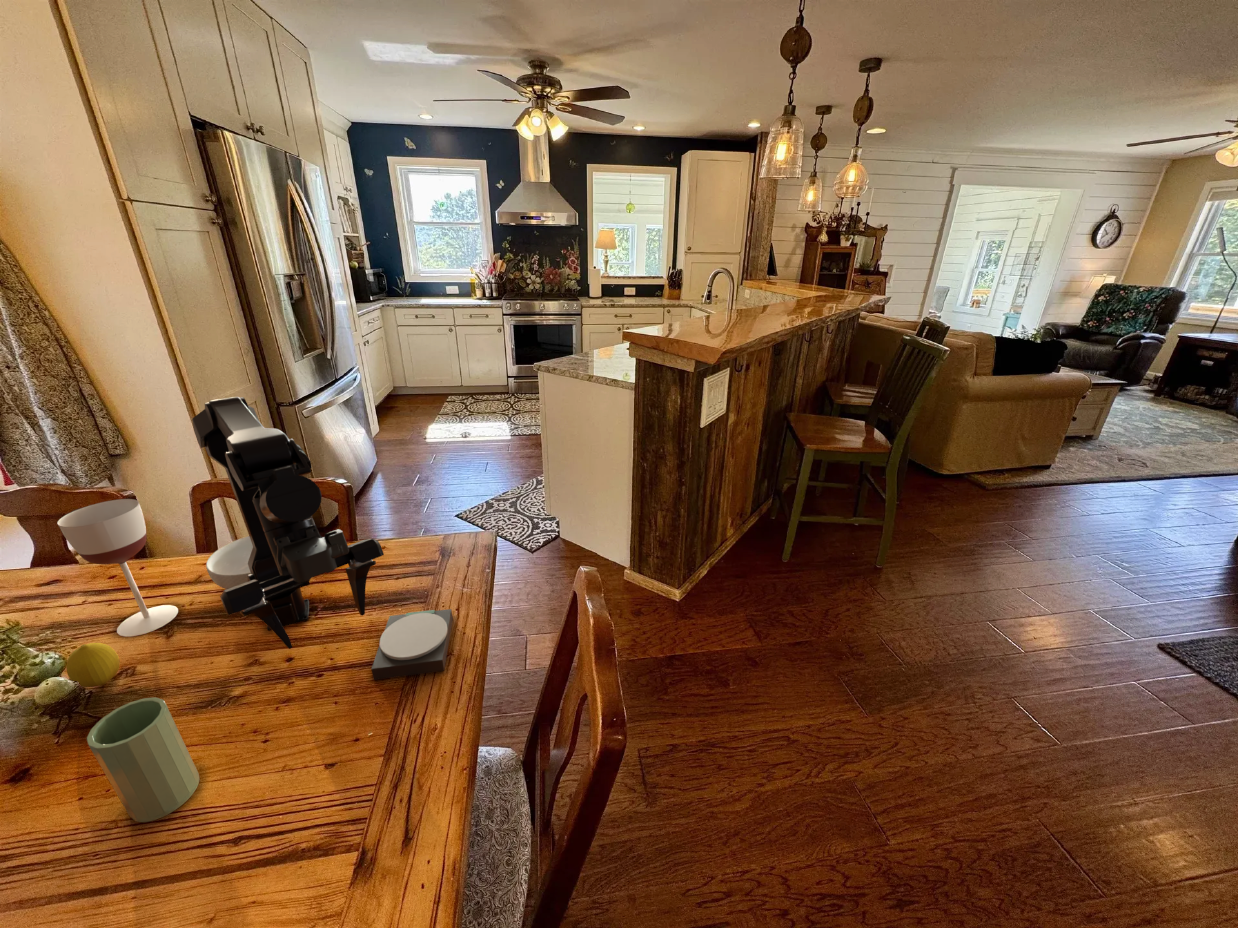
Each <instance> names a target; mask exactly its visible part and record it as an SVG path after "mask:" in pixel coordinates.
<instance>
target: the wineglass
mask: <svg viewBox="0 0 1238 928" xmlns="http://www.w3.org/2000/svg"><path fill="white" fill-rule="evenodd" d="M143 513H144V512H143V510H142V507H141V504H140V501H138V500H137V499H134V498H120V499H113V500H107V501H102V502H97V503H95V504H89V505H88V506H87V505H86V506H84V507H81V508H77V509H75V510H73V511H71V512H69V513H67V514H65V515H63V516H62V517H61V518H59V519H58V520H57V525H58V527H59V529H60V531H61V533H62V535H63V537H64V538H65V539H66V541H67V542H68V543H69V545H70V546H71V547H72V549H73V550H75V552H76V553H77V554H78V556H80V557H81V558H82V559H83V560H84V561H86V562H88V563H91V564H96V565H119V567H120V569H121V571H122V573H123V575H124V578H125V580H126V582H127V584H128V586H129V588H130V591H131V593H132V594H133V597H134V600H135V602H136V604H137V606H138V608H139V611H138V612H136V613H134V614H132V615H130V616H129V617H127V618H126V619H125V620H124V621H122V622H121V623H119V625H118V627H117V628H116V633H117V634H118V636H121V637H136V636H137V637H138V636H141V635H146V634H147V633H150V632H151V633H152V632H154V631H155V630H158V629H160V628H162V627H164V626H166V625H167V624H169V623H170V622H171V621H173V620H174V619H175V618H176V617H177V615H178V613H179V608H178V607H177V606H176V605H172V604H162V605H157V606H151V607H149V608H147V605H146V604H145V601H144V599H143V597H142V594H141V592H140V590H139V587H138V585H137V583H136V581H135V579H134V577H133V574H132V572H131V569H130V568H129V565H128V563H127V562H128V560H130V559H131V558H133V557H135V555H137V554H138V553H139V552H140V551H141V550H142V549H143V548H144V547H145V546H146V543H147V539H148V538H147V537H148V536H147V528H146V520H145V517H144V514H143Z"/></svg>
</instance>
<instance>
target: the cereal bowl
mask: <svg viewBox="0 0 1238 928" xmlns="http://www.w3.org/2000/svg"><path fill="white" fill-rule="evenodd" d="M252 549H253V545H252V542H251V539H250V537H249V535H248V536H244V537H241V538H238V539H235V540H233V541H231V542H229V543H227V544H225V545H223V546H221V547H220V548H218V549H217V550H215V551H214V552H213V553H212V554H211V555H210V556H208V559H207V561H206V563H205V567H206V571H207V573H208V576H209V578H210V579H211V581H212V582H213V583H214V584H215V585H216V586H218V587H220V588H222V589H224V590H226V589H229V588H232V587H235V586H238V585H240V584H243V583H246V582H248V578H247V575H249V574H251V572H250V569H249V566H248V561H249V558H250V555H251V552H252Z"/></svg>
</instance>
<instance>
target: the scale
mask: <svg viewBox="0 0 1238 928" xmlns="http://www.w3.org/2000/svg"><path fill="white" fill-rule="evenodd" d="M453 621H454V616H453V610H452V608H449V609H440V610H439V609H438V610H435V609H430V610H429V609H428V610H422V611H421V610H420V611H411V612H406V613H402V614H395V615H389V616H388V620H387V621H386V625H385V628H384V631H383V632H382V634H381V635H380V638H379V646H378V648H377V651H376V654H375V657H374V660H373V663H372V665H371V668H370V670H371V674H372V679H373V681H376V680H384V679H385V680H386V679H393V678H400V677H408V676H414V675H415V676H416V675H422V674H430V673H438V672H444V671H445V668H446V662H447V656H448V650H449V645H450V640H451V639H450V637H451V633H452V626H453Z"/></svg>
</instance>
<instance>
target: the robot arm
mask: <svg viewBox="0 0 1238 928" xmlns="http://www.w3.org/2000/svg"><path fill="white" fill-rule="evenodd" d="M192 428H193V432H194V435H195V438H196V441H197V443H198V445H199V448H201V449H203V448H205V451H206V454H207V456H208V457H209V458H211V459H212V460H213V461H215V462H216V463H217V464H219V465H220V466H221V467H223V469H224V470H225V472H226V475H227V478H228V481H229V483H230V486H231V490H232V492H233V494H234V498H235V500H236V503H237V506H238V508H239V510H240V514H241V518H242V519H243V522H244V525H245V529H246V531H247V534H248V536H249V537H250V539H251V542H252V545H253V549H252V552H251V555H250V558H249V561H248V566H249V569H250V572H251V574H249V575H247V578H248V582H246V583H243V584H240V585H238V586H235V587H232V588H229V589H224V590H223V591H222V592H221V594H220V595H219V598H220V602H221V604H222V606H223V609H224V611H225V613H226V615H228V616H230V615H234V614H237V613H239V614H240V615H241V616H242V617H247V616H250V615H254V616H255V617H257V618H258V619H259V620H260V621H261V622H263V623H264V624H265V625H266V629H267V631H269V632H270V631H272V632H273V634H275V635H276V636H277V638H278V639H279V640H280V641H281V642H282V643H283V644H284V646H286V647H287V649H288V650H291V649H292V648H293V644H292V641H291V637H290V636H289V634H288V633H287V631H286V629H285V627H288V626H292V625H295V624H300V623H303V622H306V621H308V620H309V618H310V616H309V615H310V599H308V598H306V599H304V595H303V592H302V589H301V588H304V587H307V586H310V583H311V579H312V578H314V577H317V576H320V575H322V574H325V573H326V574H328V573H331V572H334V571H335V570H336V569H338V568H341V567H343V566H346V565H348V567H346V568H345V572H346V575H347V580H348V582H349V583H348V584H349V587H350V590H351V593H352V597H353V600H354V604H355V607H356V609H357V611H358V613H359V615H360V616H362V617H363V616H365V614H366V585H367V578H368V575H369V571H370V569H371V567H373V566H376V565H377V561H376V559H378V558H380V557H382V556H384V555H385V553H384V551H383V548H382V545H381V543H380V542H379V540H377V539H375V538H368V539H367V538H366V539H363V540H360V541H357V542H354V543H352V544H349V545H348V543H347V540H346V537H345V535H344V532H343V530H341V529H340V528H339V529H335V530H332V531H329V532H326V533H324V536H322V535H321V534H320V532H319V530H318V528H317V525H316V524H315V520H314V518H313V515H315V514H316V512H318V510H319V508H320V506H321V504H322V497H323V496H322V491H321V488H320V487H319V486H318V484H316V482H314V481H313V480H312V479H311V478H309V477H306V475H310V474H311V473H312V470H311V469H312V461H311V460H310V458H309V457H308V455H307V454H306V453H305V451H304V450H303V449H302V447H301V446H300V445H299V444H297V443H296V442H295V440H294V439H293V438H289V437H288V436H287V434H286V433H285V432H283V431H282V430H280V429H279V428H273V427H264V425H263V424H262V423H261V422H260V419H259V417H258V415H257V413H256V409H255V408H254V407H252V406H250V405H248V402H247V400H246V399H245V397H239V396H231V397H225V398H224V397H223V398H219V399H211V400H208V402H204V409H203V410H201V411H200V412H199V413H197V414H196V415H195V416H194V417H192Z"/></svg>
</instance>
